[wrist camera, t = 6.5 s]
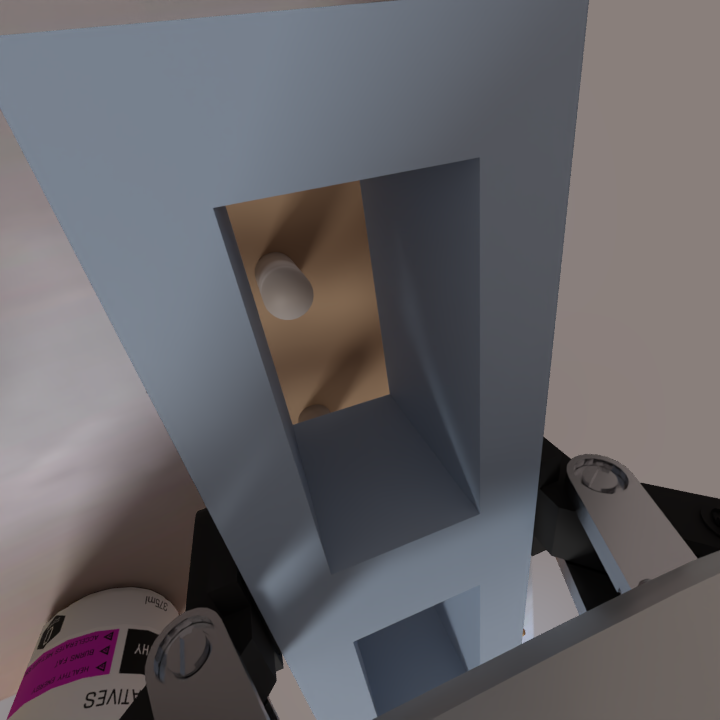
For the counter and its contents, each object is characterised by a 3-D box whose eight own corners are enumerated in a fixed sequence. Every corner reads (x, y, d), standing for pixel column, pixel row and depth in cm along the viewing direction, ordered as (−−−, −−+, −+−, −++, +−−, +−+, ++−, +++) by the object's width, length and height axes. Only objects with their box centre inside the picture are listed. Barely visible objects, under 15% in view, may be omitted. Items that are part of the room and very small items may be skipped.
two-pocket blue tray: (123, 124, 7) (-37, 39, 3) (405, 85, 8) (590, -18, 4) (317, 619, 16) (349, 784, 11) (443, 565, 17) (516, 695, 13)
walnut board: (82, 110, 14) (15, 77, 10) (348, 76, 17) (397, 37, 12) (257, 514, 26) (265, 588, 21) (399, 461, 28) (434, 518, 24)
